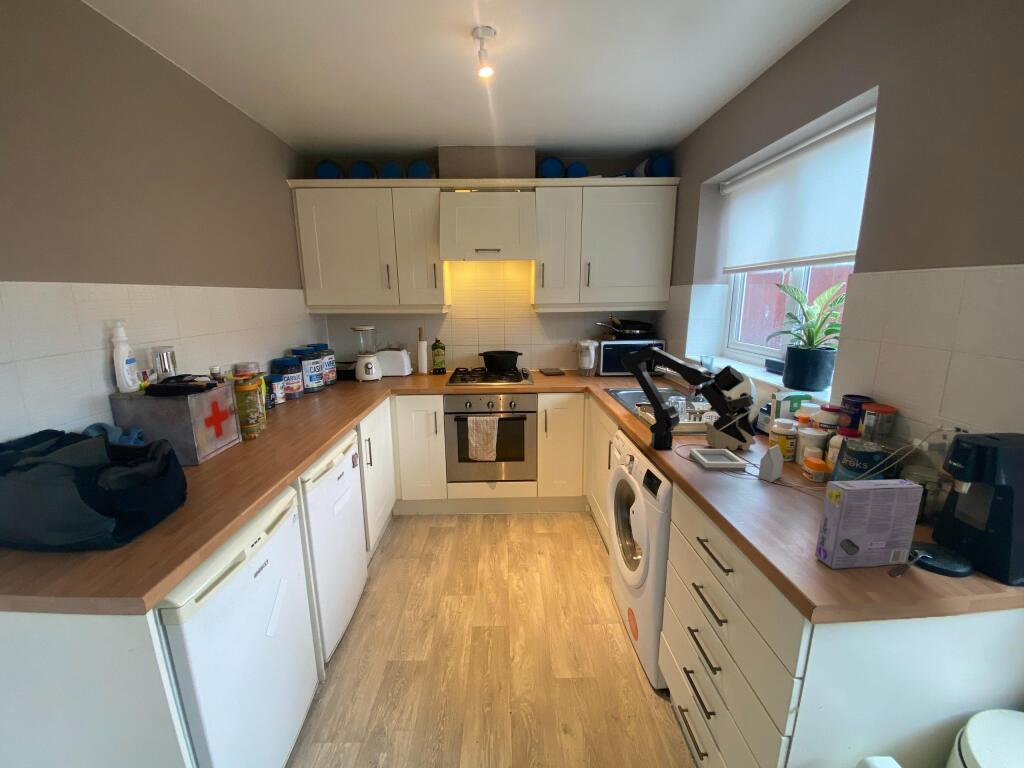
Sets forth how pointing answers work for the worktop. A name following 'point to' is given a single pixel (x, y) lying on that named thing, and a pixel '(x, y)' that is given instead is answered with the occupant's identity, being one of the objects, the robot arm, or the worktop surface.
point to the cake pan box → (868, 523)
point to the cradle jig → (717, 459)
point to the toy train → (726, 439)
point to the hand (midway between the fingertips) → (750, 439)
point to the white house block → (771, 464)
